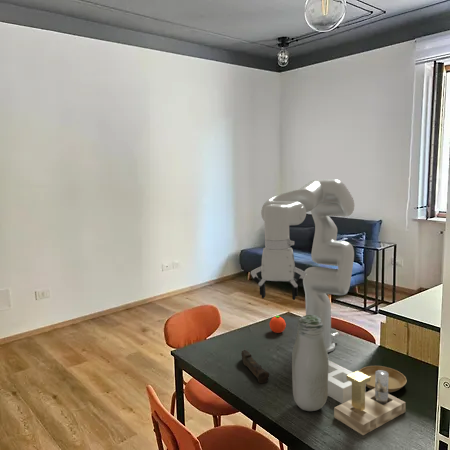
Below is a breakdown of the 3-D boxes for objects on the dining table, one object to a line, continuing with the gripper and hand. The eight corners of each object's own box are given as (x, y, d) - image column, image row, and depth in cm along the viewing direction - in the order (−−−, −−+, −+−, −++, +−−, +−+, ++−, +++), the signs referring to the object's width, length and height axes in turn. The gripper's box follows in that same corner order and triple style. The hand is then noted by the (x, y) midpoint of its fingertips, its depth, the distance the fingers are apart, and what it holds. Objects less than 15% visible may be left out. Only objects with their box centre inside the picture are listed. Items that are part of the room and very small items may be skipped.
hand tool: (269, 382, 141) (269, 369, 140) (258, 384, 140) (258, 371, 139) (249, 358, 159) (249, 346, 158) (239, 360, 158) (239, 348, 157)
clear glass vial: (380, 404, 126) (380, 368, 124) (390, 409, 123) (391, 373, 121) (372, 408, 124) (372, 372, 122) (382, 413, 121) (383, 377, 119)
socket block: (375, 396, 130) (375, 387, 129) (405, 412, 121) (405, 402, 121) (334, 417, 120) (334, 407, 120) (363, 435, 112) (363, 424, 111)
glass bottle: (306, 421, 119) (305, 325, 115) (286, 403, 128) (285, 313, 124) (335, 412, 123) (335, 318, 119) (314, 395, 132) (313, 308, 128)
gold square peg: (357, 401, 120) (357, 370, 119) (370, 408, 117) (370, 376, 116) (346, 406, 118) (346, 375, 117) (359, 413, 114) (359, 381, 113)
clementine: (269, 328, 186) (269, 312, 185) (285, 328, 186) (285, 312, 185) (269, 335, 178) (269, 319, 177) (286, 335, 178) (286, 319, 177)
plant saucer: (409, 379, 140) (409, 371, 139) (402, 401, 127) (402, 393, 127) (363, 369, 147) (363, 362, 147) (352, 389, 135) (352, 381, 134)
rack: (327, 373, 145) (327, 359, 144) (365, 393, 132) (365, 378, 131) (305, 382, 140) (305, 367, 139) (343, 404, 126) (343, 388, 126)
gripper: (306, 242, 133) (307, 295, 135) (252, 241, 137) (254, 293, 140) (304, 247, 126) (305, 303, 128) (247, 246, 130) (249, 300, 133)
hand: (278, 297), depth 134 cm, fingers open, 9 cm apart
